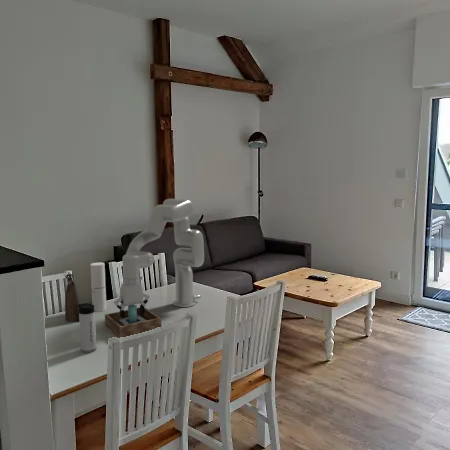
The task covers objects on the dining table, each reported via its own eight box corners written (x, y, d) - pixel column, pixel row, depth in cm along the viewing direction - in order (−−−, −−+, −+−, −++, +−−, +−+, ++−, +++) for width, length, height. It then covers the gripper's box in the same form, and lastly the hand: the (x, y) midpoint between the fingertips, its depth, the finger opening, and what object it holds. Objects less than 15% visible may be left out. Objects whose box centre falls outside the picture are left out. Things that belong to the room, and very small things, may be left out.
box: (143, 318, 222) (143, 306, 221) (161, 330, 206) (161, 318, 205) (105, 326, 211) (104, 314, 210) (120, 340, 195) (120, 327, 194)
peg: (135, 324, 211) (134, 304, 210) (138, 326, 208) (138, 306, 206) (127, 326, 209) (126, 305, 208) (130, 328, 206) (130, 308, 204)
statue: (62, 322, 216) (60, 272, 214) (67, 317, 224) (66, 269, 221) (79, 322, 216) (78, 272, 214) (84, 317, 224) (83, 269, 222)
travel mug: (82, 347, 188) (79, 302, 185) (97, 346, 188) (95, 301, 185) (78, 353, 181) (76, 306, 179) (94, 352, 182) (92, 306, 179)
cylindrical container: (102, 312, 232) (100, 265, 228) (90, 311, 233) (87, 265, 229) (108, 307, 238) (106, 262, 235) (96, 306, 240) (94, 262, 236)
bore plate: (138, 320, 216) (138, 315, 215) (147, 327, 207) (147, 321, 207) (118, 325, 210) (118, 319, 209) (126, 332, 201) (126, 326, 201)
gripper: (145, 276, 213) (146, 310, 216) (110, 281, 203) (112, 317, 206) (151, 279, 207) (152, 314, 209) (116, 285, 197) (117, 321, 200)
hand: (132, 315), depth 208 cm, fingers open, 9 cm apart
